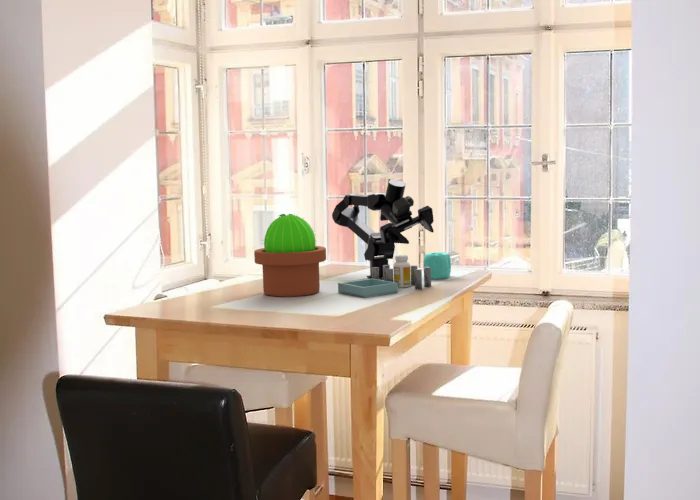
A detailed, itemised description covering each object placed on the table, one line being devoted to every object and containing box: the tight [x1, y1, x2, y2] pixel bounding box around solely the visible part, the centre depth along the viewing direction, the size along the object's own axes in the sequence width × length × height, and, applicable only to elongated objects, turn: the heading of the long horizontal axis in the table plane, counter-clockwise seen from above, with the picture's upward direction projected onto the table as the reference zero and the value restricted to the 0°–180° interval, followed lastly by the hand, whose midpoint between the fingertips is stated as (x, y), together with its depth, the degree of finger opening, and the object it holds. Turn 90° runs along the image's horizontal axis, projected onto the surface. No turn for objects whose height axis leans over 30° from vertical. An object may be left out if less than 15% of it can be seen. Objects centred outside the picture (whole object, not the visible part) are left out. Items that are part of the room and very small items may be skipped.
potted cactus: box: [253, 213, 327, 298], centre depth 275 cm, size 22×22×25 cm
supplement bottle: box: [392, 254, 411, 288], centre depth 282 cm, size 5×5×10 cm
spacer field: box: [371, 264, 432, 290], centre depth 282 cm, size 18×14×6 cm
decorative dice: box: [423, 252, 452, 280], centre depth 300 cm, size 8×8×8 cm
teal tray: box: [337, 278, 399, 299], centre depth 272 cm, size 13×13×3 cm
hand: (420, 236), depth 281 cm, fingers open, 9 cm apart
